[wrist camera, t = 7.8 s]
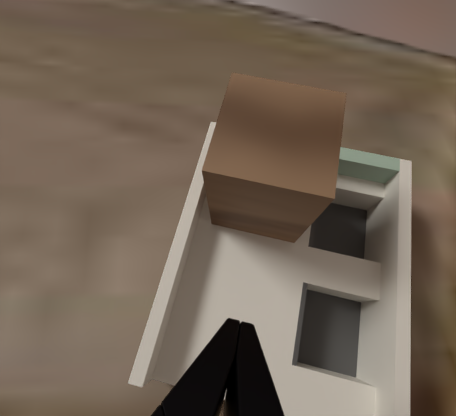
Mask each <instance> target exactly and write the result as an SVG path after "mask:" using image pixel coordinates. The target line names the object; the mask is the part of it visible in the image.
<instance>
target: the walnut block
mask: <svg viewBox="0 0 456 416" xmlns="http://www.w3.org/2000/svg"><path fill="white" fill-rule="evenodd" d="M346 94H347V93H342V92H337V91H331V90H326V89H320V88H315V87H309V86H304V85H298V84H293V83H287V82H282V81H276V80H271V79H265V78H259V77H254V76H248V75H243V74H237V73H232V74H231V77H230V80H229V84H228V87H227V90H226V93H225V96H224V100H223V103H222V106H221V109H220V113H219V116H218V119H217V122H216V126H215V129H214V132H213V135H212V138H211V142H210V145H209V148H208V151H207V155H206V158H205V161H204V164H203V168H202V175H203V181H204V186H205V191H206V197H207V202H208V207H209V213H210V218H211V224H213V225H218V226H222V227H226V228H231V229H235V230H239V231H244V232H248V233H253V234H257V235H261V236H266V237H270V238H274V239H279V240H283V241H287V242H292V243H295V242H296V241H297V239H298V238H299V237H300V236H301V235H302V234H303V233H304V232H305V231H306V230H307V229H308V227H309V226H310V225H311V224H312V223H313V222H314V221H315V220H316V219H317V218H318V217H319V215H320V214H321V213H322V212H323V211H324V210H325V209H326V208H327V207H328V206H329V205H330V203H331V202H332V201H333V200H334V199H335V192H336V183H337V174H338V165H339V156H340V147H341V138H342V129H343V120H344V111H345V103H346Z"/></svg>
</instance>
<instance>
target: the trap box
mask: <svg viewBox="0 0 456 416" xmlns="http://www.w3.org/2000/svg"><path fill="white" fill-rule="evenodd" d="M215 126H216V122H211V123H210V127H209V130H208V133H207V136H206V139H205V142H204V146H203V149H202V152H201V155H200V158H199V161H198V164H197V168H196V171H195V174H194V177H193V180H192V183H191V186H190V190H189V193H188V196H187V199H186V202H185V205H184V208H183V212H182V215H181V218H180V221H179V224H178V227H177V230H176V234H175V237H174V240H173V243H172V246H171V249H170V252H169V256H168V259H167V262H166V265H165V268H164V271H163V274H162V278H161V281H160V284H159V287H158V290H157V293H156V297H155V300H154V303H153V306H152V309H151V312H150V315H149V319H148V322H147V325H146V328H145V331H144V334H143V337H142V341H141V344H140V347H139V350H138V353H137V356H136V359H135V363H134V366H133V369H132V372H131V375H130V378H129V381H128V383H129V384H132V385H136V386H139V387H143V386H144V385H146V384H147V383H148V382H149V381H150V380H152V379H153V380H156V381H160V382H163V383H167V384H170V385H174V386H175V384H176V383H177V382H178V381H179V379H180V378H181V377H182V376H183V374H184V373H185V372H186V370H187V369H188V368H189V367H190V365H191V364H192V363H193V362H194V360H195V359H196V358H197V356H198V355H199V354H200V353H201V351H202V350H203V349H204V347H205V346H206V345H207V344H208V342H209V341H210V340H211V339H212V337H213V336H214V335H215V333H216V332H217V331H218V330H219V328H220V327H221V326H222V325H223V323H224V322H225V321H226V319H228V318H232V319H236V320H239V321H240V323H241V322H242V321H244V322H248V323H252V324H253V325H254V327H255V329H256V332H257V335H258V338H259V341H260V344H261V347H262V350H263V353H264V356H265V359H266V362H267V365H268V368H269V371H270V374H271V377H272V380H273V383H274V385H275V388H276V391H277V394H278V397H279V400H280V403H281V406H282V409H283V412H284V415H285V416H410V356H411V166H412V161H408V160H403V159H398V158H393V157H388V156H383V155H378V154H373V153H368V152H363V151H358V150H352V149H347V148H342V147H340V156H339V165H338V174H337V183H336V192H335V199H334V200H333V201H332V202H331V203H330V205H329V206H328V207H327V208H326V209H325V210H324V211H323V212H322V213H321V214H320V215H319V217H318V218H317V219H316V220H315V221H314V222H313V223H312V224H311V225H310V226H309V227H308V229H307V230H306V231H305V232H304V233H303V234H302V235H301V236H300V237H299V238H298V239H297V241H296V242H295V243H292V242H287V241H283V240H279V239H274V238H270V237H266V236H261V235H257V234H253V233H248V232H244V231H239V230H235V229H231V228H226V227H222V226H218V225H213V224H211V218H210V213H209V207H208V202H207V197H206V191H205V186H204V181H203V175H202V168H203V164H204V161H205V158H206V155H207V151H208V148H209V145H210V142H211V138H212V135H213V132H214V129H215ZM225 395H226V393H225ZM224 400H225V397H224Z"/></svg>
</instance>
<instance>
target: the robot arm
mask: <svg viewBox="0 0 456 416" xmlns="http://www.w3.org/2000/svg"><path fill="white" fill-rule="evenodd" d="M225 393H226V395H225ZM224 397H225V404H224V415H223V416H285V415H284V412H283V409H282V406H281V403H280V400H279V397H278V394H277V391H276V388H275V385H274V383H273V380H272V377H271V374H270V371H269V368H268V365H267V362H266V359H265V356H264V353H263V350H262V347H261V344H260V341H259V338H258V335H257V332H256V329H255V327H254V325H253V324H252V323H248V322H244V321H242V322H241V323H240V321H239V320H236V319H232V318H228V319H226V321H225V322H224V323H223V325H222V326H221V327H220V328H219V330H218V331H217V332H216V333H215V335H214V336H213V337H212V339H211V340H210V341H209V342H208V344H207V345H206V346H205V347H204V349H203V350H202V351H201V353H200V354H199V355H198V356H197V358H196V359H195V360H194V362H193V363H192V364H191V365H190V367H189V368H188V369H187V370H186V372H185V373H184V374H183V376H182V377H181V378H180V379H179V381H178V382H177V383H176V384H175V386H174V387H173V388H172V390H171V391H170V392H169V393H168V395H167V396H166V397H165V399H164V400H163V401H162V402H161V405H159V406H158V407H157V408H156V410H155V411H154V412H153V414H152V415H151V416H219V414H220V410H221V407H222V404H223V400H224Z"/></svg>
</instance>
